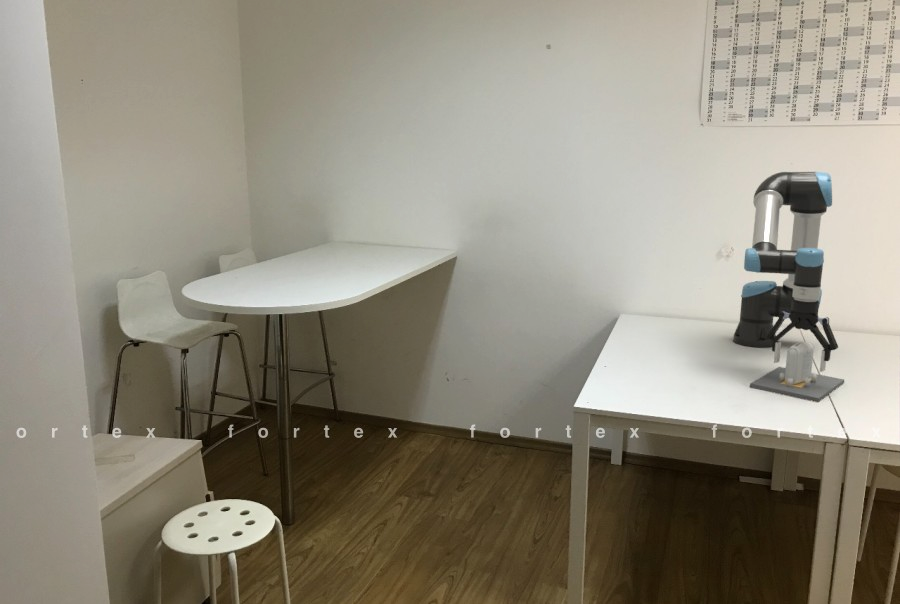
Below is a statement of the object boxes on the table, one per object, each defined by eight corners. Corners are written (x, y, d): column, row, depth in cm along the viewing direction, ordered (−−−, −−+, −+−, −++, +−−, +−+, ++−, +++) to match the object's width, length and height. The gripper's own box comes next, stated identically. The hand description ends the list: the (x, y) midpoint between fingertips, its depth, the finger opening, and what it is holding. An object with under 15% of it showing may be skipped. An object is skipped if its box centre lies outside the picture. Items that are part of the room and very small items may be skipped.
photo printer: (799, 376, 233) (803, 338, 230) (812, 379, 229) (816, 341, 227) (782, 382, 227) (785, 343, 224) (795, 385, 223) (799, 346, 221)
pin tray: (749, 387, 226) (750, 375, 226) (778, 370, 243) (779, 359, 243) (818, 402, 213) (819, 390, 212) (844, 383, 230) (845, 371, 229)
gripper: (759, 295, 228) (753, 360, 233) (846, 307, 211) (838, 377, 216) (768, 292, 234) (763, 356, 238) (854, 303, 217) (846, 371, 221)
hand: (799, 366), depth 227 cm, fingers open, 13 cm apart
